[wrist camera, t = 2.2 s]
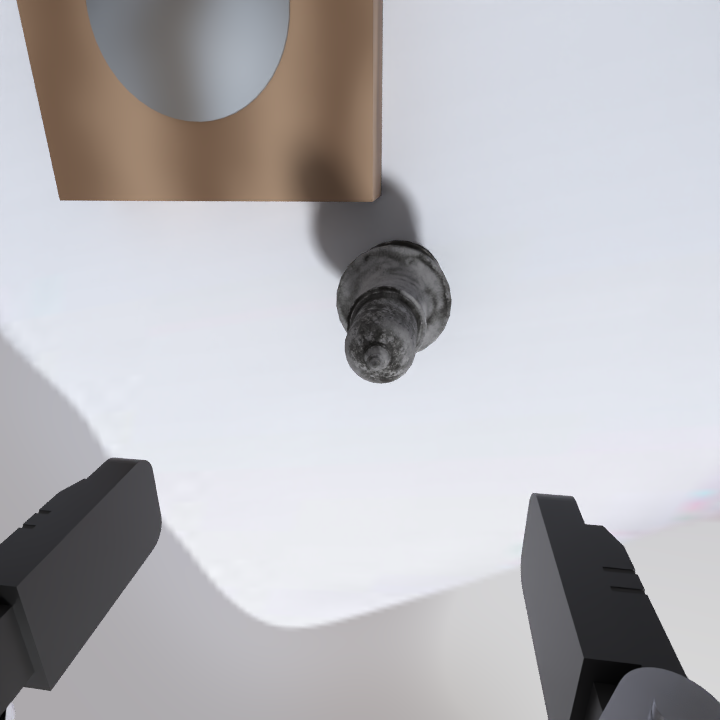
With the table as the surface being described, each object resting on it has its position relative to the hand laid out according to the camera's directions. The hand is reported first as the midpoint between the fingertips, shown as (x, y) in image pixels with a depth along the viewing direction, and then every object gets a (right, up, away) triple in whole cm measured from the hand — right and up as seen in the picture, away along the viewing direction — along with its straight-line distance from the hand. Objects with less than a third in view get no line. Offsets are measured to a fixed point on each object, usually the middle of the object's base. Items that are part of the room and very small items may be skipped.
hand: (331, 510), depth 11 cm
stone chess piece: (+3, +7, +19) cm, 20 cm away
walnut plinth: (-6, +20, +15) cm, 25 cm away
